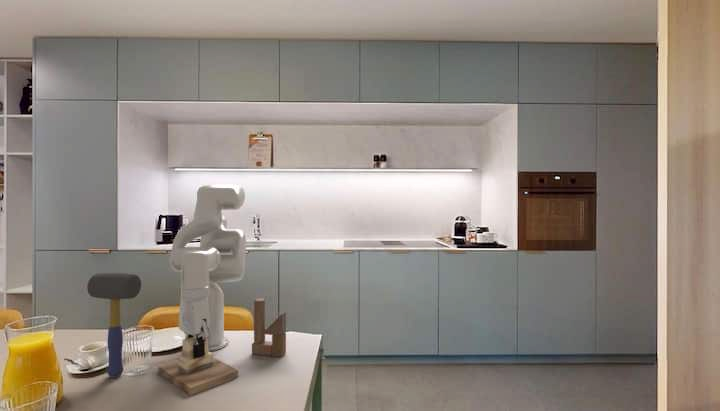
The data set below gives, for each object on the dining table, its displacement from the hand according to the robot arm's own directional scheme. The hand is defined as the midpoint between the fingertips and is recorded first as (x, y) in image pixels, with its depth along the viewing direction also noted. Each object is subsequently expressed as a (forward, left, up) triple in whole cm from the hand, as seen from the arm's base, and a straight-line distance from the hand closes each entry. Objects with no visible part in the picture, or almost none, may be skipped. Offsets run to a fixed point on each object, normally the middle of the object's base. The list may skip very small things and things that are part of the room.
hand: (195, 354), depth 115 cm
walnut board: (+1, 0, -6) cm, 6 cm away
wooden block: (+4, +23, -6) cm, 24 cm away
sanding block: (0, 0, -4) cm, 4 cm away
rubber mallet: (-16, -16, -6) cm, 23 cm away
